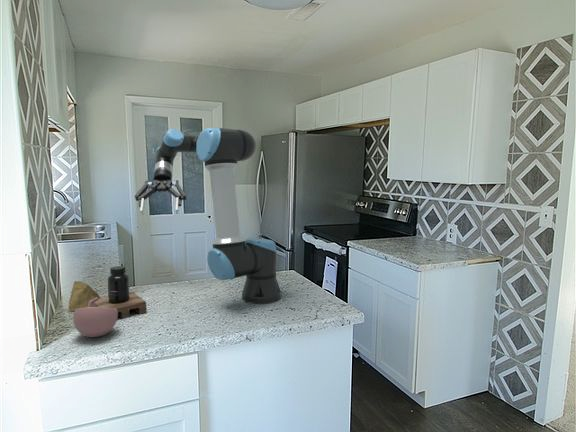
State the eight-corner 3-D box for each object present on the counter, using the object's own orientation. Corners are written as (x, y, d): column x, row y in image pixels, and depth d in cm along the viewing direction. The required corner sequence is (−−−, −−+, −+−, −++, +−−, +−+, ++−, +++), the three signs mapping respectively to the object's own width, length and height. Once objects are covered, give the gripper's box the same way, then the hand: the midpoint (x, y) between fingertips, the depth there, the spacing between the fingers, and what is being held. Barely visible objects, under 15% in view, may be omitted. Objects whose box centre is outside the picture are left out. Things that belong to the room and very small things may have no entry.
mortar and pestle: (123, 325, 123) (121, 291, 121) (112, 342, 111) (110, 304, 110) (83, 328, 121) (80, 293, 119) (68, 345, 109) (65, 307, 108)
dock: (146, 312, 134) (146, 301, 133) (103, 323, 125) (103, 311, 124) (133, 301, 144) (132, 291, 144) (93, 310, 136) (92, 300, 135)
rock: (106, 294, 146) (79, 292, 145) (103, 281, 140) (74, 278, 139) (97, 319, 138) (68, 317, 137) (93, 306, 132) (62, 304, 131)
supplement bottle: (109, 305, 130) (106, 271, 128) (108, 299, 136) (106, 266, 134) (130, 302, 133) (128, 268, 131) (129, 296, 139) (127, 264, 137)
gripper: (193, 179, 171) (192, 217, 158) (134, 180, 167) (128, 218, 154) (191, 167, 165) (190, 205, 153) (131, 168, 161) (124, 207, 148)
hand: (159, 212), depth 153 cm, fingers open, 13 cm apart
